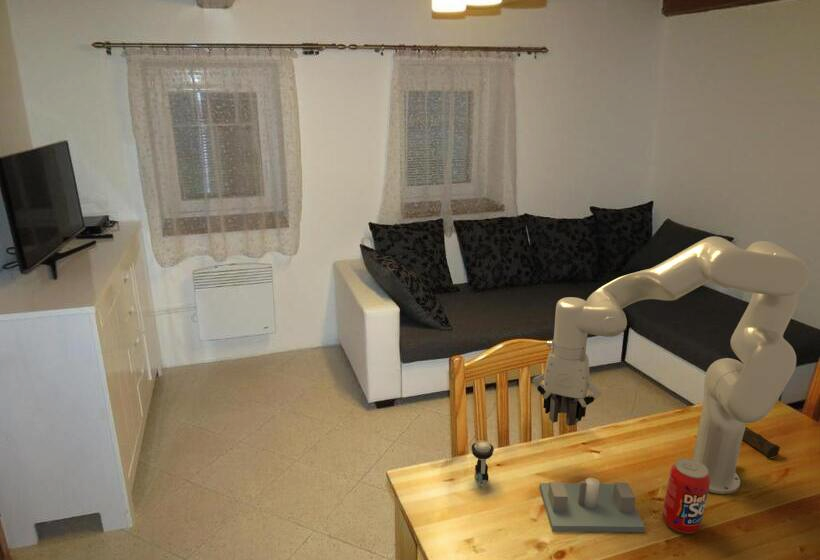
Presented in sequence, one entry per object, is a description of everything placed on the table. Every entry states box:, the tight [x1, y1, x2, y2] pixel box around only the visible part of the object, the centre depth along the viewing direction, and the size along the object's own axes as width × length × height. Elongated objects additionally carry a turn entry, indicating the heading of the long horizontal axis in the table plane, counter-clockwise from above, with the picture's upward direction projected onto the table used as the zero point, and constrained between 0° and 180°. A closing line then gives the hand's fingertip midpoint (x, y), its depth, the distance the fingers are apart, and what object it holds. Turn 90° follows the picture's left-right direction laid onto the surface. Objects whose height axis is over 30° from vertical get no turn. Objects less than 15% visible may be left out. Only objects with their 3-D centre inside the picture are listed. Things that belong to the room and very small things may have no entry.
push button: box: [470, 439, 495, 489], centre depth 142 cm, size 7×5×10 cm
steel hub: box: [548, 393, 580, 427], centre depth 143 cm, size 7×7×6 cm
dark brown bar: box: [742, 426, 781, 459], centre depth 160 cm, size 19×4×5 cm, turn 17°
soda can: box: [661, 457, 711, 534], centre depth 128 cm, size 8×8×15 cm
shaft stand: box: [539, 477, 646, 533], centre depth 133 cm, size 20×14×8 cm
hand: (563, 414), depth 144 cm, fingers closed on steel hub, 7 cm apart
